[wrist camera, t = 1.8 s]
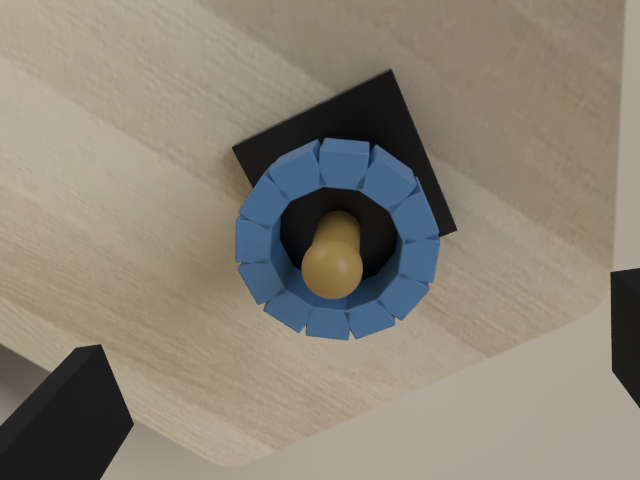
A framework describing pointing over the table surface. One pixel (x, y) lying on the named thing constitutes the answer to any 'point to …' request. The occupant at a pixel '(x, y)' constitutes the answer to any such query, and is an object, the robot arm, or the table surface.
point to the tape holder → (343, 204)
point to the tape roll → (372, 293)
